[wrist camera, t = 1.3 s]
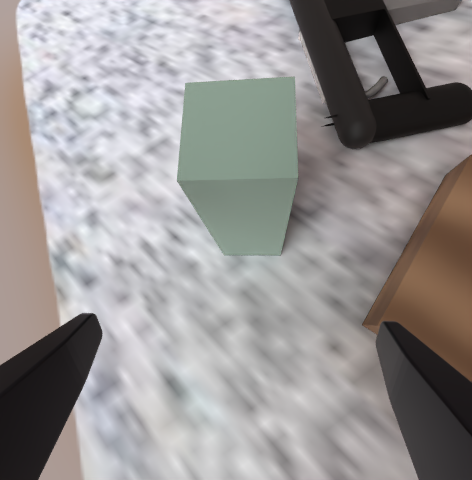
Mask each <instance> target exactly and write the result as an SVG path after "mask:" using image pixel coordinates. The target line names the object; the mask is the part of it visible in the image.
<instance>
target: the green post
mask: <svg viewBox="0 0 472 480" xmlns="http://www.w3.org/2000/svg"><path fill="white" fill-rule="evenodd" d="M297 181H298V157H297V128H296V100H295V77H280V78H262V79H245V80H228V81H211V82H194V83H185V94H184V106H183V117H182V129H181V140H180V151H179V163H178V174H177V182H178V183H179V185H180V186H181V188H182V190H183V191H184V193H185V194H186V196H187V197H188V199H189V201H190V202H191V204H192V205H193V207H194V208H195V210H196V212H197V213H198V215H199V216H200V218H201V220H202V221H203V223H204V224H205V226H206V227H207V229H208V231H209V232H210V234H211V235H212V237H213V238H214V240H215V242H216V243H217V245H218V246H219V248H220V250H221V251H222V253H223V254H224V255H262V256H281V251H282V247H283V242H284V238H285V234H286V229H287V225H288V221H289V216H290V212H291V207H292V203H293V199H294V194H295V190H296V186H297Z"/></svg>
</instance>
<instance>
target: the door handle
mask: <svg viewBox="0 0 472 480" xmlns="http://www.w3.org/2000/svg"><path fill="white" fill-rule="evenodd" d="M460 2H461V0H290V3H291V6H292V9H293V12H294V14H295V17H296V20H297V23H298V25H299V28H300V31H299V38H298V40H299V41H301V44H302V47H303V49H304V52H305V55H306V58H307V61H308V63H309V66H310V69H311V72H312V75H313V77H314V80H315V83H316V86H317V89H318V91H319V94H320V97H321V100H322V103H323V104H324V103H327V106H328V109H329V111H330V114H331V116H330V117H326V118H332V120H333V122H334V123H331V124H328V125H325V126H331V125H335V128H336V131H337V133H338V136H339V139H340V141H341V142H342V143H343V144H344V145H345V146H346V147H348V148H352V149H358V148H362V147H364V146H366V145H368V144H369V143H374V142H379V141H384V140H388V139H393V138H398V137H403V136H408V135H413V134H418V133H422V132H427V131H432V130H437V129H442V128H447V127H452V126H456V125H461V124H465V123H467V122H469V121H470V120H471V119H472V90H471V89H470V88H469V87H468V86H467V85H465V84H462V83H450V84H445V85H440V86H435V87H430V88H426V87H425V85H424V83H423V81H422V79H421V77H420V75H419V73H418V71H417V69H416V67H415V65H414V63H413V61H412V59H411V57H410V55H409V53H408V51H407V48H406V46H405V44H404V42H403V40H402V38H401V36H400V34H399V32H398V30H397V28H396V26H395V25H397V24H401V23H405V22H409V21H413V20H417V19H421V18H425V17H429V16H433V15H437V14H441V13H445V12H449V11H453V10H456V8H457V7H458V5H459V3H460ZM372 35H374V37H375V39H376V41H377V43H378V45H379V48H380V50H381V52H382V54H383V56H384V59H385V61H386V63H387V65H388V67H389V70H390V72H391V74H392V76H393V78H394V81H395V83H396V85H397V87H398V89H399V91H400V94H396V95H391V96H386V97H381V98H376V99H371V100H368V98H370V97H371V96H373V95H374V94H376V93H377V92H378V91H379V90H380V89H381V88H382V87H383V86H384V85H385V84H386V83H387V81H388V79H387V77H385V76H383V77H381V78H380V80H379V81H378V82H377V83H376V84H375V85H374V86H373V87H372V88H370V89H369V90H368V91H366V92H365V91H364V89H363V87H362V84H361V82H360V79H359V77H358V74H357V72H356V70H355V67H354V65H353V62H352V60H351V58H350V55H349V53H348V50H347V48H346V45H345V43H344V42H348V41H352V40H356V39H360V38H364V37H368V36H372ZM321 127H322V126H321Z"/></svg>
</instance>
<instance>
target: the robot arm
mask: <svg viewBox="0 0 472 480" xmlns="http://www.w3.org/2000/svg"><path fill="white" fill-rule="evenodd" d="M101 339H102V329H101V326H100V324H99V321H98V319H97V316H96V315H95V314H93V313H82V314H80V315H78V316H76V317H75V318H73V319H72V320H70V321H69V322H67V323H66V324H64V325H62V326H61V327H59V328H58V329H56V330H55V331H53V332H51V333H50V334H48V335H47V336H45V337H44V338H42V339H41V340H39V341H37V342H36V343H35V344H33V345H31V346H30V347H28V348H27V349H25V350H23V351H22V352H20V353H19V354H17V355H16V356H14V357H12V358H11V359H10V360H8V361H6V362H5V363H3V364H2V365H0V480H38V479H39V477H40V475H41V473H42V471H43V469H44V467H45V464H46V463H47V461H48V458H49V456H50V454H51V452H52V450H53V448H54V446H55V444H56V442H57V440H58V438H59V436H60V434H61V432H62V430H63V427H64V425H65V423H66V421H67V419H68V417H69V415H70V413H71V411H72V409H73V407H74V405H75V403H76V401H77V399H78V397H79V395H80V393H81V391H82V388H83V386H84V384H85V382H86V379H87V377H88V374H89V371H90V369H91V366H92V363H93V361H94V358H95V355H96V353H97V350H98V347H99V345H100V342H101ZM376 348H377V352H378V356H379V360H380V364H381V368H382V372H383V376H384V380H385V384H386V388H387V392H388V395H389V399H390V402H391V405H392V408H393V411H394V413H395V416H396V419H397V421H398V424H399V427H400V430H401V432H402V435H403V438H404V440H405V443H406V446H407V449H408V451H409V454H410V457H411V459H412V462H413V465H414V468H415V470H416V473H417V476H418V479H419V480H472V382H471V381H470V380H469V379H467V378H466V377H465V376H464V375H462V374H461V373H460V372H459V371H458V370H456V369H455V368H454V367H453V366H451V365H450V364H449V363H448V362H446V361H445V360H444V359H443V358H442V357H440V356H439V355H438V354H437V353H435V352H434V351H433V350H432V349H431V348H429V347H428V346H427V345H426V344H424V343H423V342H422V341H421V340H419V339H418V338H417V337H416V336H415V335H413V334H412V333H411V332H410V331H408V330H407V329H406V328H405V327H404V326H402V325H401V324H400V323H398V322H396V321H382V322H381V324H380V327H379V331H378V335H377V339H376Z"/></svg>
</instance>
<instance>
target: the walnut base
mask: <svg viewBox="0 0 472 480" xmlns="http://www.w3.org/2000/svg"><path fill="white" fill-rule="evenodd" d="M382 321H396V322H398V323H400V324H401V325H402V326H404V327H405V328H406V329H407V330H408V331H410V332H411V333H412V334H413V335H415V336H416V337H417V338H418V339H419V340H421V341H422V342H423V343H424V344H426V345H427V346H428V347H429V348H431V349H432V350H433V351H434V352H435V353H437V354H438V355H439V356H440V357H442V358H443V359H444V360H445V361H446V362H448V363H449V364H450V365H451V366H453V367H454V368H455V369H456V370H458V371H459V372H460V373H461V374H462V375H464V376H465V377H466V378H467V379H469V380H470V381H471V382H472V155H470V156H469V157H468V158H466V159H465V160H464V161H463V162H461V163H460V164H459V165H458V166H456V167H455V168H454V169H453V170H451V171H450V172H449V173H448V174H446V176H445V177H444V179H443V181H442V183H441V184H440V186H439V188H438V190H437V192H436V193H435V195H434V197H433V199H432V201H431V202H430V204H429V206H428V208H427V210H426V211H425V213H424V215H423V217H422V219H421V220H420V222H419V224H418V226H417V227H416V229H415V231H414V233H413V235H412V236H411V238H410V240H409V242H408V244H407V245H406V247H405V249H404V251H403V253H402V254H401V256H400V258H399V260H398V262H397V263H396V265H395V267H394V269H393V270H392V272H391V274H390V276H389V278H388V279H387V281H386V283H385V285H384V287H383V288H382V290H381V292H380V294H379V296H378V297H377V299H376V301H375V303H374V305H373V306H372V308H371V310H370V312H369V313H368V315H367V317H366V319H365V321H364V322H363V324H362V325H363V326H365V327H366V328H368V329H369V330H371V331H372V332H374V333H376V334H377V335H378V331H379V327H380V324H381V322H382Z"/></svg>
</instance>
